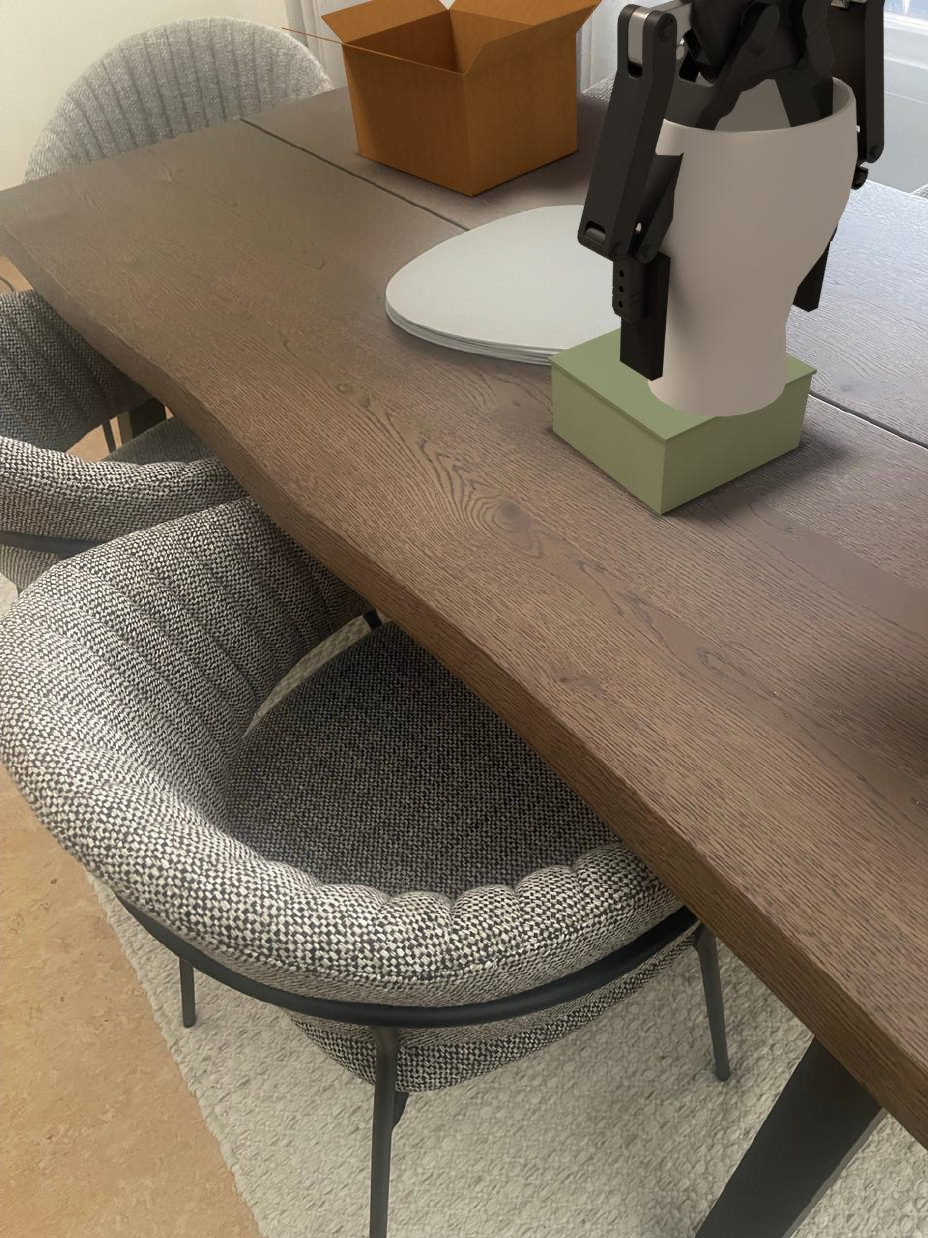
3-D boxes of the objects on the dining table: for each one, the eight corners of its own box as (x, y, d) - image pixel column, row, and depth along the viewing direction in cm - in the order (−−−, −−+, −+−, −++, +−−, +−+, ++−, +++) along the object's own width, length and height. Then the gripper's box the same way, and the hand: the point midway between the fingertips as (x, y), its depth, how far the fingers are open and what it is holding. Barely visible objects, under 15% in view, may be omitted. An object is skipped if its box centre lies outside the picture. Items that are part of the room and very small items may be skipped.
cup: (774, 452, 49) (828, 149, 38) (591, 406, 53) (593, 124, 43) (835, 355, 55) (896, 69, 44) (666, 321, 59) (684, 55, 49)
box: (440, 227, 126) (421, 54, 111) (292, 165, 147) (260, 14, 133) (638, 139, 142) (644, -23, 127) (478, 95, 163) (468, -48, 148)
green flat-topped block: (801, 447, 85) (817, 369, 79) (659, 517, 80) (665, 439, 74) (682, 373, 95) (688, 299, 90) (550, 431, 90) (547, 357, 85)
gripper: (908, -228, 42) (820, 249, 58) (478, -140, 35) (511, 377, 51) (1061, -228, 38) (920, 292, 53) (600, -125, 30) (594, 440, 46)
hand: (720, 334), depth 52 cm, fingers closed on cup, 11 cm apart
